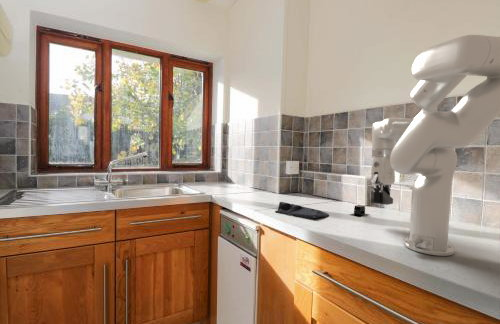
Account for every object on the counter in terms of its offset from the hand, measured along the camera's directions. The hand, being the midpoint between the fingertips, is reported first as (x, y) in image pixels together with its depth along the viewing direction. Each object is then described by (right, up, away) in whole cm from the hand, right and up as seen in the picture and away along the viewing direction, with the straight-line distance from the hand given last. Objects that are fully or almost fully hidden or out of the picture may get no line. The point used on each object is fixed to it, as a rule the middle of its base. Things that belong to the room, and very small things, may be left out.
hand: (381, 201), depth 102 cm
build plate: (0, -10, +20) cm, 22 cm away
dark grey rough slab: (-27, -9, +19) cm, 34 cm away
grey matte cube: (0, -1, 0) cm, 1 cm away
